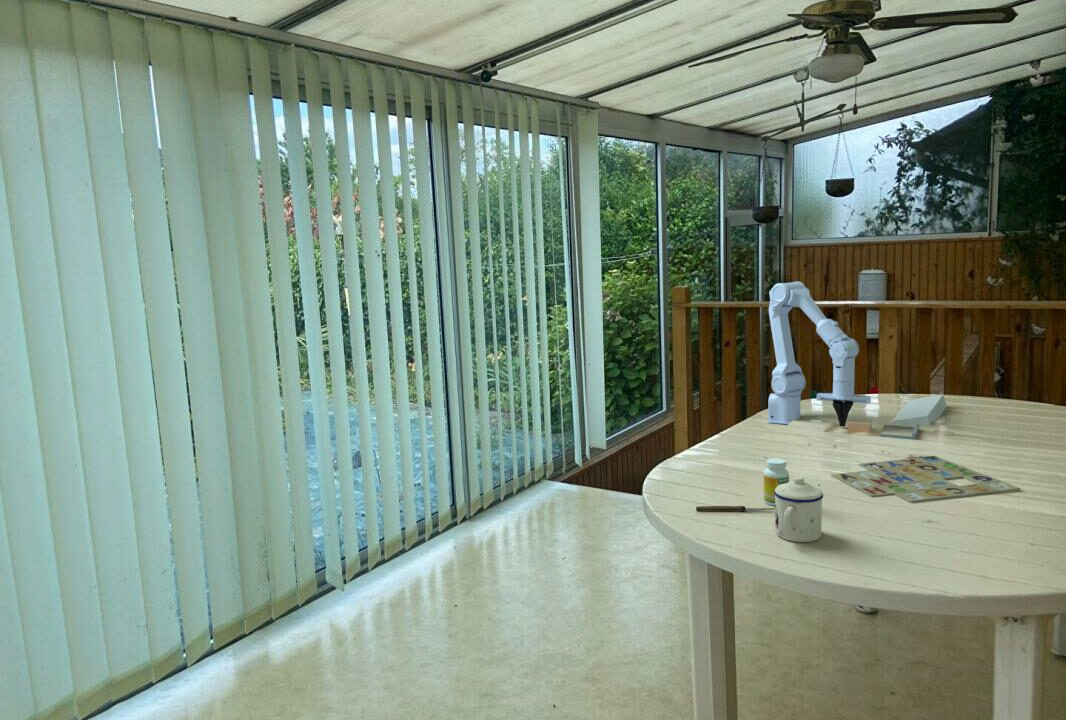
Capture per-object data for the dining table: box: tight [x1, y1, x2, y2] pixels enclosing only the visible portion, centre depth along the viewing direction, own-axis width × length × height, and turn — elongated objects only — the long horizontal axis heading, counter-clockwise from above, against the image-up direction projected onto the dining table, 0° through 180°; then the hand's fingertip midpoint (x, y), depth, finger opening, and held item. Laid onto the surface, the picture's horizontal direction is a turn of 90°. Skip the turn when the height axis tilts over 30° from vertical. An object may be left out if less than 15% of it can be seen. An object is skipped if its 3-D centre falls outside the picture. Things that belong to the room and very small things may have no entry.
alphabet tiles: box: [830, 455, 1021, 504], centre depth 177 cm, size 33×28×1 cm
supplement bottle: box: [763, 457, 790, 507], centre depth 165 cm, size 5×5×10 cm
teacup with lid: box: [774, 476, 824, 543], centre depth 145 cm, size 12×9×12 cm
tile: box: [846, 417, 873, 433], centre depth 217 cm, size 6×6×2 cm
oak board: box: [823, 422, 885, 437], centre depth 218 cm, size 15×12×2 cm
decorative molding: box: [890, 394, 947, 426], centre depth 235 cm, size 34×5×10 cm
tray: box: [879, 424, 920, 441], centre depth 212 cm, size 9×12×3 cm
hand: (842, 425), depth 220 cm, fingers closed
